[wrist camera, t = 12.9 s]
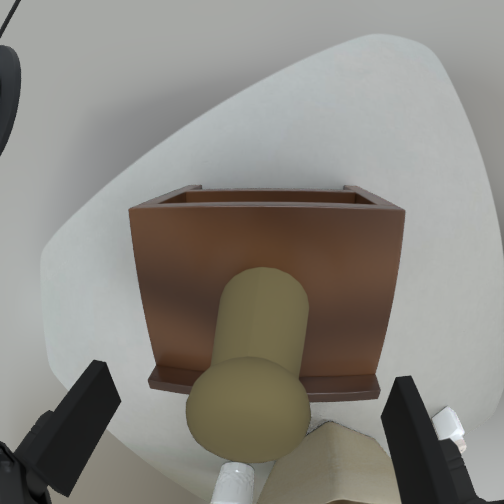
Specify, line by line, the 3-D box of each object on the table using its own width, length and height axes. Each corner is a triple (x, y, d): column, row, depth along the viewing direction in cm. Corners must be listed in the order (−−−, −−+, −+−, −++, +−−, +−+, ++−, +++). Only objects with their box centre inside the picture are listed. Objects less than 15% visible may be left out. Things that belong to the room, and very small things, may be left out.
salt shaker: (447, 404, 38) (464, 442, 29) (455, 410, 39) (471, 446, 30) (430, 417, 39) (444, 456, 30) (438, 423, 40) (453, 460, 31)
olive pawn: (294, 352, 21) (293, 485, 10) (213, 332, 21) (164, 458, 11) (321, 279, 19) (350, 412, 8) (229, 256, 19) (168, 373, 9)
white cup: (211, 465, 49) (201, 503, 39) (236, 456, 46) (228, 498, 37) (238, 479, 50) (232, 516, 41) (265, 471, 48) (260, 511, 38)
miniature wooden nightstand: (188, 185, 31) (112, 215, 17) (357, 185, 29) (418, 217, 15) (197, 301, 36) (149, 388, 21) (347, 305, 34) (378, 399, 19)
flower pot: (400, 433, 41) (420, 507, 25) (329, 477, 47) (331, 542, 31) (329, 401, 39) (338, 497, 23) (255, 452, 45) (244, 529, 29)
